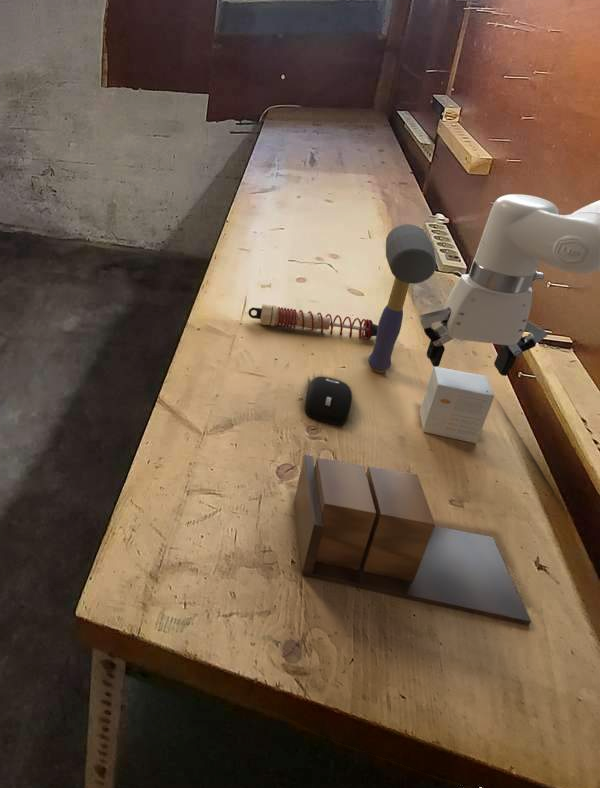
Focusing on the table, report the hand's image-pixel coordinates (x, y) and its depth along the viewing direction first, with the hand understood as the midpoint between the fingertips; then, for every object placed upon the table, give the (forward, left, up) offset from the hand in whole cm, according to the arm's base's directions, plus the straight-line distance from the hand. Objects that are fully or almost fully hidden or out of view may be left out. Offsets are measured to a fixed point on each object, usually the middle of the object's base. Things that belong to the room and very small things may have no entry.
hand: (465, 366), depth 93 cm
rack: (+14, +29, -13) cm, 35 cm away
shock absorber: (+18, -27, -13) cm, 35 cm away
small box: (0, 0, -13) cm, 13 cm away
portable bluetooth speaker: (+19, -2, -13) cm, 23 cm away
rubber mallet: (+8, -15, -13) cm, 21 cm away
